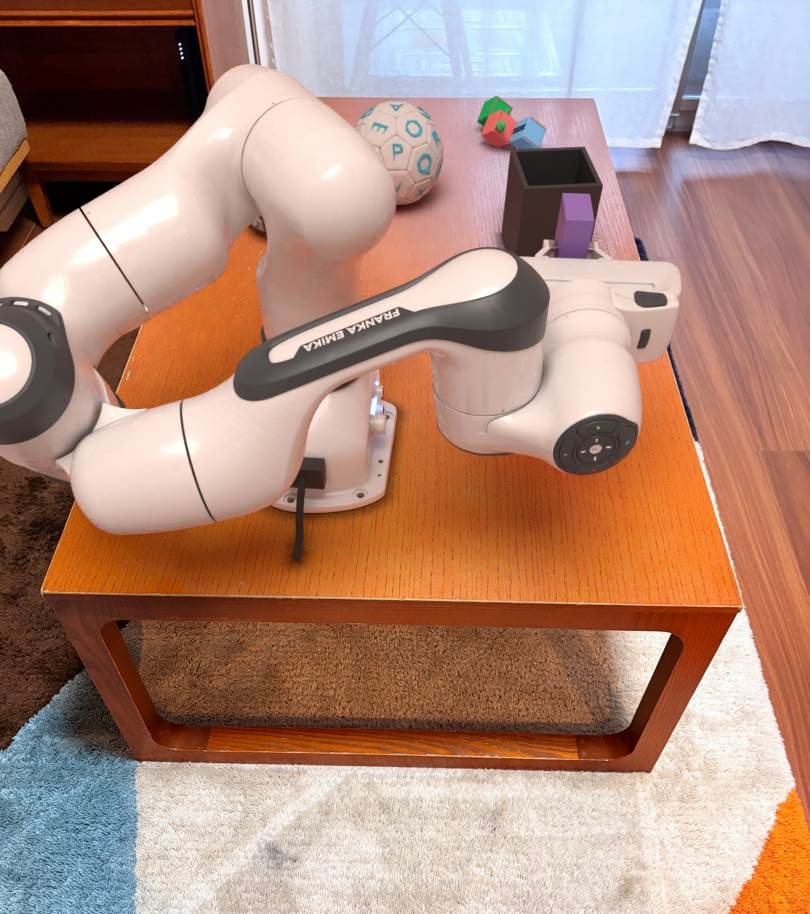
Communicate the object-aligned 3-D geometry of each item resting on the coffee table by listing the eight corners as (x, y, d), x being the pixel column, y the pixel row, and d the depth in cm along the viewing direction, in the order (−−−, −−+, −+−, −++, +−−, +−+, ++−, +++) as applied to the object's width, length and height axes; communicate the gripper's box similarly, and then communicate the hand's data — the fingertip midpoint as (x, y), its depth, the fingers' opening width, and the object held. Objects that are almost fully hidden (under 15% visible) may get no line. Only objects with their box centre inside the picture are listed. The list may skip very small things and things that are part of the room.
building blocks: (501, 165, 152) (540, 149, 142) (467, 140, 148) (504, 123, 138) (516, 125, 152) (556, 107, 142) (483, 100, 148) (521, 79, 138)
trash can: (585, 272, 123) (603, 185, 112) (513, 276, 123) (524, 188, 112) (569, 232, 130) (584, 146, 119) (501, 235, 129) (510, 149, 119)
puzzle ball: (349, 223, 131) (344, 128, 120) (352, 175, 141) (347, 83, 129) (443, 223, 132) (448, 128, 120) (439, 175, 141) (443, 83, 129)
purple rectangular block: (575, 314, 88) (594, 220, 79) (549, 314, 88) (565, 219, 80) (572, 287, 91) (590, 193, 83) (546, 286, 91) (562, 192, 83)
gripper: (467, 351, 80) (468, 269, 88) (678, 359, 79) (658, 276, 88) (472, 296, 75) (472, 214, 83) (697, 304, 74) (674, 221, 83)
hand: (569, 246), depth 86 cm, fingers closed on purple rectangular block, 3 cm apart
